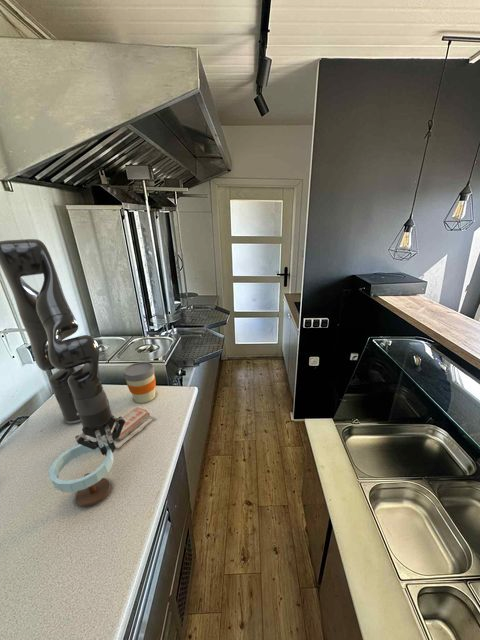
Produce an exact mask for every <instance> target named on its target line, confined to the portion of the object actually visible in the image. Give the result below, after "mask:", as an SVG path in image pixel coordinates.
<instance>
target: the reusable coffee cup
mask: <svg viewBox="0 0 480 640" xmlns="http://www.w3.org/2000/svg"><path fill="white" fill-rule="evenodd" d="M155 370H156V369H155V368H154V365H153V364H152V363H151V362H148V361H139V362H134V363H131V364H129V365H127V366H126V367H125V368H124V369H123V377H124V380H125V381H126V383H125V384H126V387H127V389H128V390H129V393H131V394H132V397H133V399H134V401H135V403H139V404H142V403H143V404H144V403H148V402H151V401H152V400H153V399H155V397H156V386H157V385H156V383H157V382H156V381H157V380H156V376H155Z"/></svg>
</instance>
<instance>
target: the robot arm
mask: <svg viewBox="0 0 480 640" xmlns="http://www.w3.org/2000/svg"><path fill="white" fill-rule="evenodd" d="M0 268H1V270H2V272H3V274H4V277H5V279H6V282H7V283H8V286H9V288H10V290H11V292H12V295H13V298H14V301H15V304H16V308H17V311H18V315H19V317H20V320H21V323H22V325H23V327H24V330H25V332H26V334H27V336H28V339H29V342H30V347H31V351H32V354H33V359H34V362H35V364H36V366H37V368H39V370H41V371H43V372H48V371H52V370H55V369H57V371H56V372H54V373H53V374H52V375H50V377H49V379H48V382H49V385H50V387H51V389H52V392H53V394H54V397H55V399H56V402H57V404H58V407H59V409H60V412H61V414H62V417H63V421H64V422H65V423H66V424H68V425H74V424H78V423H81V425H82V429H81V430H82V431H81V433H80V434H77V435H76V436H75V437H74V438H75V441H76V443H77V445H79V444H80V445H83V446H86V447H88V448H91V449H93V450H94V449H96V448H99V449H100V451H101V452H100V453H101V455H102V456H106V455H107V449H106V447H105V445H104V442H103V440H102V436H103V435H105V436H106V438H107V443H108V446H109V447H110V449H111V451H112V454H113V453H115V450H116V448H115V445H114V440H115V439H116V438H119V436H120V433H121V431H122V428H123V426H124V423H125V420H124V419H123V416H121V415H120V416H118V417H115V415H113V413H112V410H111V406H110V402H109V398H108V395H107V394H106V391H105V389H104V387H103V384H102V380H101V377H100V371H99V370H100V369H99V364H100V363H99V362H100V347H99V343H98V342H97V340H96V339H95V338H94V337H93V336H91V335H88V334H84V335H83V334H82V335H79V336H74V337H71V336H72V335H74V334H75V333H77V331H78V330H79V322H78V321H77V319H76V316H75V315H74V313H73V311H72V309H71V307H70V305H69V303H68V301H67V299H66V296H65V293H64V291H63V288H62V284H61V281H60V278H59V275H58V273H57V270H56V267H55V264H54V261H53V259H52V256H51V254H50V252H49V250H48V248H47V245H46V244H45V243H44V242H43V241H42V240H40V239H37V238H24V239H22V238H21V239H9V240H8V239H6V240H5V239H4V240H0ZM37 275H43V282H42V285H41V288H40V291H37V290H36V289H35V288H33V287H32V286H30V285H29V284H28V283H27V282H26V281H25V280H24V279H23V277H30V276H37ZM69 337H71V338H69ZM80 366H82V367H81V368H79V369H78V370H77V369H76V367H80ZM114 424H116V425H115V427H114V430H113V432H112V434H111V430H112V428H113V426H114ZM88 437H90V438H93V439H95V441H96V442H94V440H91V439H89V438H88Z"/></svg>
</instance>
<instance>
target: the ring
mask: <svg viewBox="0 0 480 640" xmlns="http://www.w3.org/2000/svg"><path fill="white" fill-rule="evenodd" d="M93 441H94V440H93ZM94 442H96V440H95V441H94ZM103 443H104V442H103ZM104 445H105V447H106V449H107V455H106V457H105V458H104V459H103V462H102V463H101V464H100V465H99V466H98V467H97V468H96V469H95V470H94V471H92V472H89V473H90V474H88V475H86V476H84V475H83V476H82V477H79V478H76V479H75V478H74V479H71V480H67V479H66V480H65V479H60V478H59V475H60V472H61V471H62V469H64V467H65V466H66V465H67V464H69V463H70V462H72V460H74V459H76V458H78V457H80V456H81V455H84V454H88V453H92V452H93V453H94V452H100V453H101V451H100V449H99V448H96V449H94V450H93V449H91V448H88V447H86V446H83V445H80V444H77V445H75V446H72V447H70V448H69V449H67V450H65V451H64V452H63V453H61V454H59V456H58V457H57V458H56V459H55V460H54V461H53V463H52V464H51V465H50V468H49V471H48V476H49V479H50V481H51V483H52V486H53V488H54V489H56V490H57V491H59V492H61V493H77V492H78V491H79V490H83V489H86V488H88V487H90V486H92V485H94V484H95V483H97V482H99V481H100V480H101V479H102V478H105V476H107V475H108V473H109V472H110V471H111V469H112V467H113V465H114V458H115V457H114V454H113V453H112V451H111V449H110V447H109V446H108V444H106V443H104Z"/></svg>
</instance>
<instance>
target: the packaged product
mask: <svg viewBox="0 0 480 640" xmlns="http://www.w3.org/2000/svg"><path fill="white" fill-rule="evenodd" d="M150 414H151V413H150V412H149V411H148V410H147V409H144V408H142V407H139V406H136V408H134V409H133V410H131V411H130V412H128V413H126V414H125V415H124V416H122V418H123V419H124V420H125V423H124V426H123V428H122V431H121V433H120V436H119V438H116V439H115V440H114V445H115V449H120V448H121V447H122V446H123V445H124V444H125V443H126V442H127V441H129V440H130V439H131V438H133V437H134V436H135V435H137V434H138V433H139V432H141V431H142V430H144V428H145V427H146V426H147V425H148V424H150V423H152V421H154V420H155V417H154V416H151V415H150ZM115 425H116V424H115V423H114V426H113V428H112V430H111V434H112V432H113V430H114V427H115ZM102 440H103V443H106V444H108V443H107V438H106V436H105V435H103V436H102Z"/></svg>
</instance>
